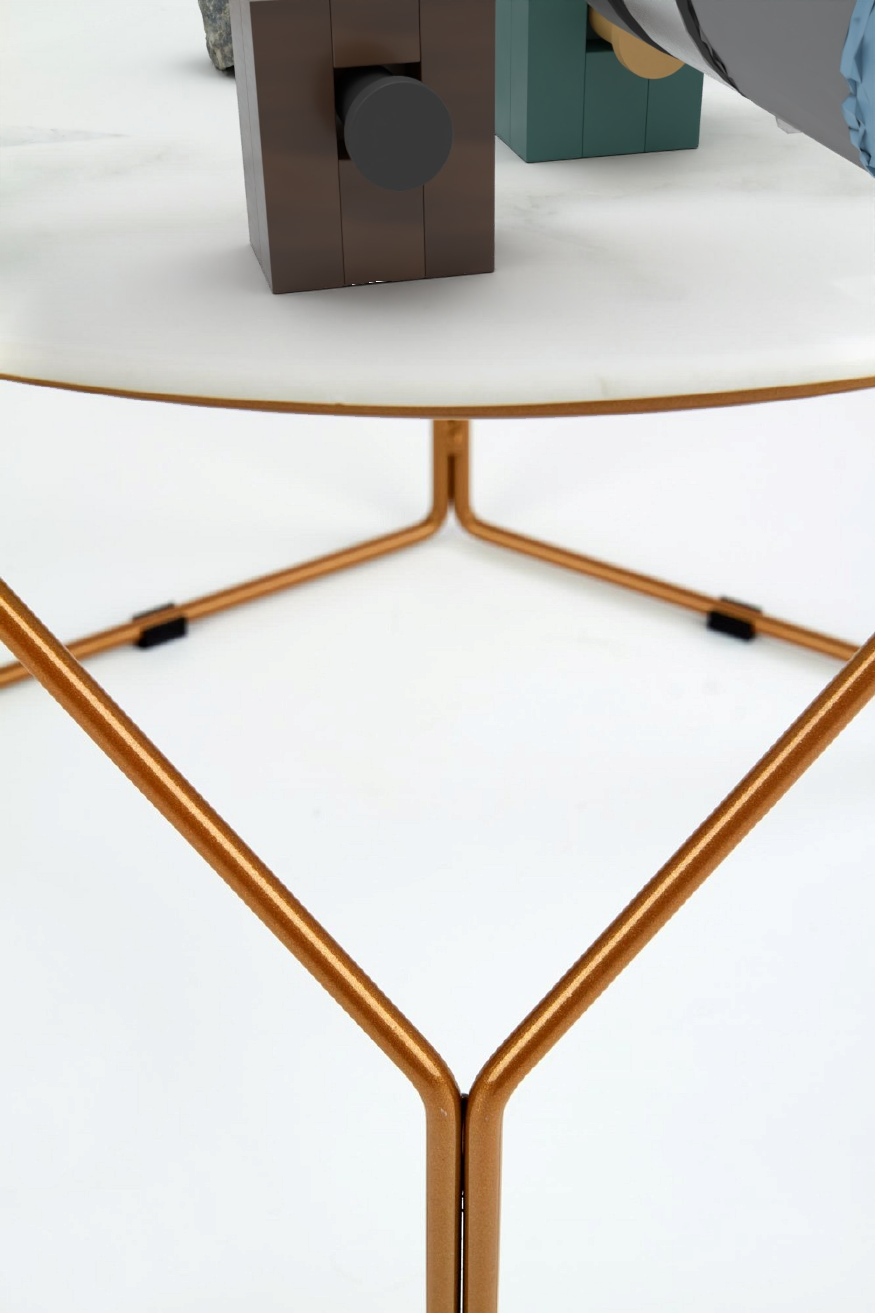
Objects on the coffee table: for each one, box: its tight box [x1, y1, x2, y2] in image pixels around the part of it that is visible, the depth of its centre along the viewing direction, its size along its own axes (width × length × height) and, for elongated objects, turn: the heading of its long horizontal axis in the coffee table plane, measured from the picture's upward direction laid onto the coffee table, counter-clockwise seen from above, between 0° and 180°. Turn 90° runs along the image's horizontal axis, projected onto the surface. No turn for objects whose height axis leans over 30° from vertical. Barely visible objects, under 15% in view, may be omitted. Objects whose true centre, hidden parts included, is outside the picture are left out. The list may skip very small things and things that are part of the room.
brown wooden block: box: [229, 0, 496, 294], centre depth 72 cm, size 8×11×13 cm
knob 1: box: [335, 65, 453, 191], centre depth 67 cm, size 7×5×5 cm, turn 14°
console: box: [495, 0, 705, 163], centre depth 90 cm, size 8×11×13 cm
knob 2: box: [588, 5, 685, 79], centre depth 84 cm, size 7×5×5 cm, turn 14°
